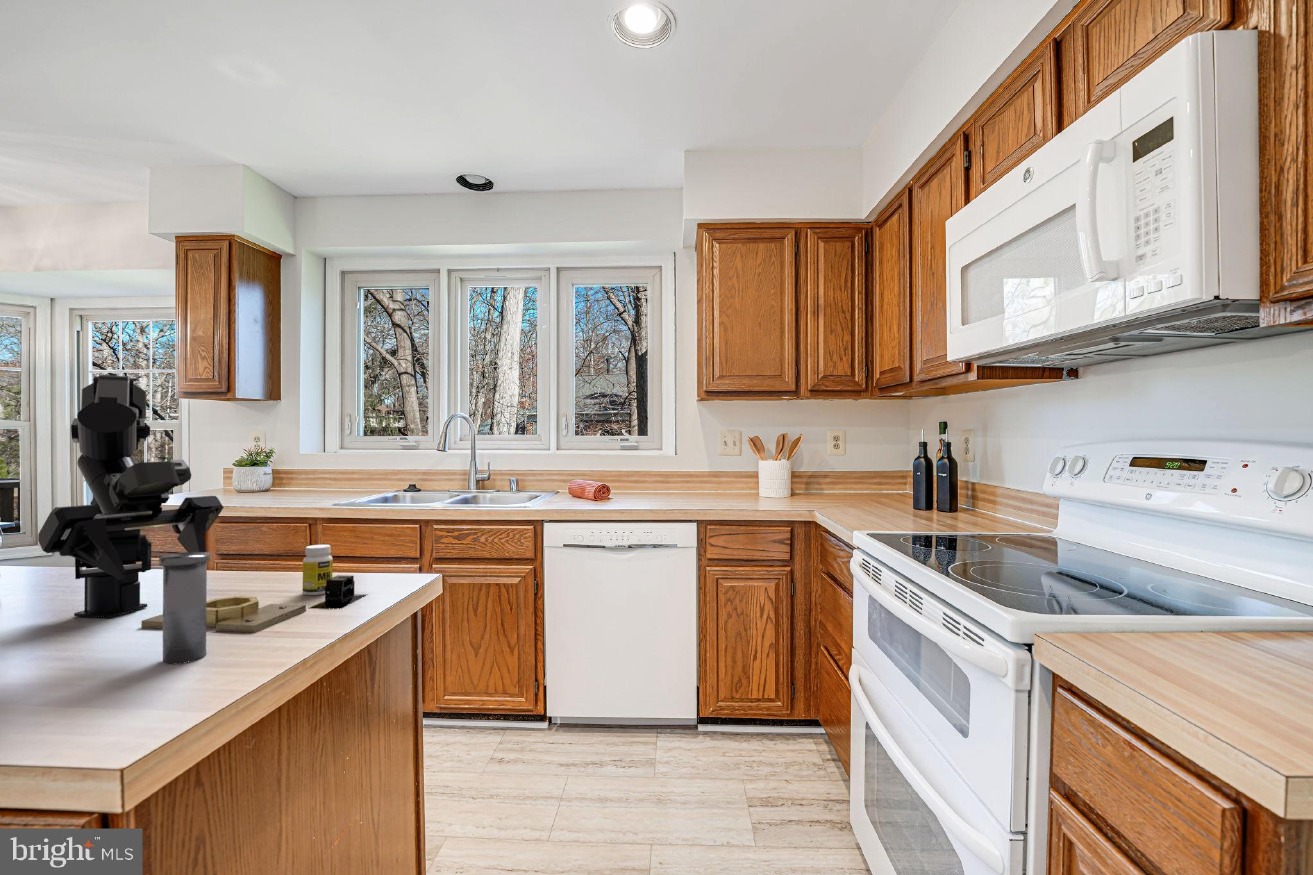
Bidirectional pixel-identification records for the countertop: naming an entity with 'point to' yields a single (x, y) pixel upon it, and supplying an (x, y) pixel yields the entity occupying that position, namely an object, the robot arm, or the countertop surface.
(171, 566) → the hinge pin
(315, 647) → the countertop surface
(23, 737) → the countertop surface
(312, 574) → the supplement bottle
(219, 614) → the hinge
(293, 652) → the countertop surface
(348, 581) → the black notched mount
